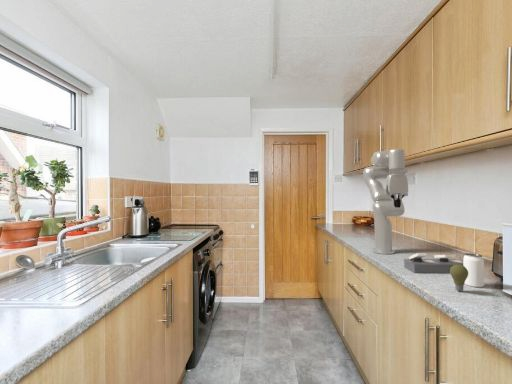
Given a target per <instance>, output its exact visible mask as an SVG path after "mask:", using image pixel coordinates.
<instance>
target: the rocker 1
mask: <svg viewBox="0 0 512 384" xmlns="http://www.w3.org/2000/svg"><path fill="white" fill-rule="evenodd" d="M427 256H428V254H427V252H417V253H415V254H413V255H412V254H411V255H410V256H408V259H409V260H413V258H422V259H424V258H425V257H427Z"/></svg>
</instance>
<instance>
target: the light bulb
mask: <svg viewBox="0 0 512 384" xmlns="http://www.w3.org/2000/svg"><path fill="white" fill-rule="evenodd" d="M449 274H450V275H451V278H452V279H453V283H454V284H455V290H457V292H462V291H464V285H465V280H466V279H467V277H468V270H467V269H466V268H465V267H464V266H463V265H460V264H456V265H453V266H452V267H451V268H450V273H449Z"/></svg>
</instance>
